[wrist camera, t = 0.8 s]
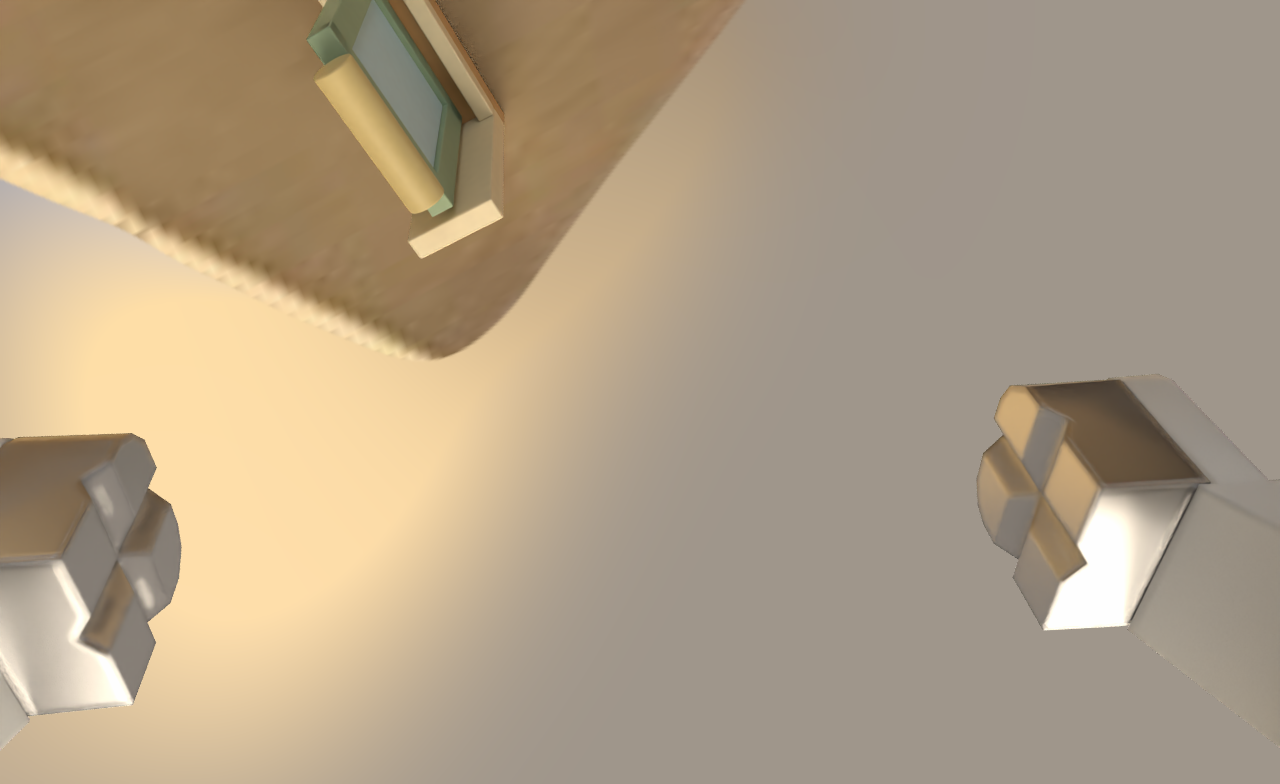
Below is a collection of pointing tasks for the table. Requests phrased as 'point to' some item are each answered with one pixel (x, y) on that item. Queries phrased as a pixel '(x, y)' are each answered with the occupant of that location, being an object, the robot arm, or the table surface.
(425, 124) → the cylinder
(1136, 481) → the robot arm
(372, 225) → the table surface
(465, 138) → the window frame
